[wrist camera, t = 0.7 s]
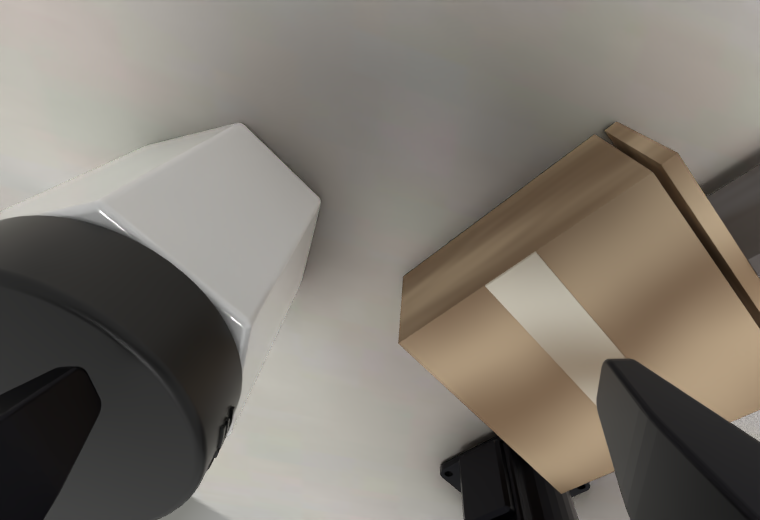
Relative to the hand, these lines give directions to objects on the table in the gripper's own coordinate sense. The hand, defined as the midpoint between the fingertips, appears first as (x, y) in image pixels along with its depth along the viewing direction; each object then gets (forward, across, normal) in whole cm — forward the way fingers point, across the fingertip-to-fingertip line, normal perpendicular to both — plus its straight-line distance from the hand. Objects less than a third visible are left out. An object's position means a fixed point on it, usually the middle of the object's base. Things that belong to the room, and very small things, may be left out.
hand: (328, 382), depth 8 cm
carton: (+13, -8, +6) cm, 16 cm away
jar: (+13, +7, +2) cm, 15 cm away
